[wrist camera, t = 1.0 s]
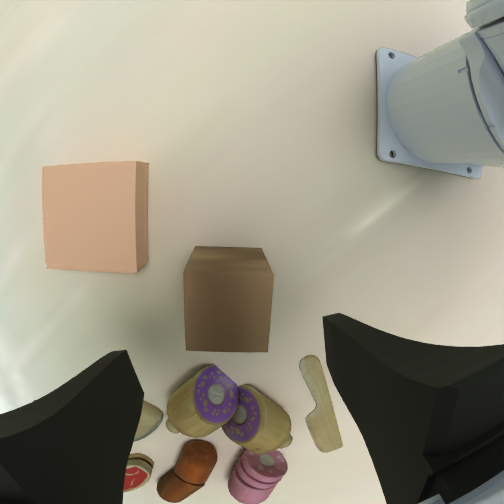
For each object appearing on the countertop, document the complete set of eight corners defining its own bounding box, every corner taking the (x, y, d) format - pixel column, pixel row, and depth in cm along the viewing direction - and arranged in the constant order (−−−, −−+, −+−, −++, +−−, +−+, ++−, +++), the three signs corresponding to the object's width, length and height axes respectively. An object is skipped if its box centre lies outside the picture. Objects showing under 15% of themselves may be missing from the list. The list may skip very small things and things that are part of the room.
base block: (149, 163, 18) (136, 161, 15) (149, 259, 20) (137, 273, 17) (65, 167, 18) (42, 166, 15) (68, 256, 19) (47, 268, 16)
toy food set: (308, 322, 22) (323, 352, 18) (345, 455, 26) (357, 484, 22) (31, 395, 22) (12, 421, 18) (120, 498, 26) (113, 523, 22)
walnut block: (261, 248, 20) (273, 274, 14) (258, 308, 21) (267, 352, 15) (195, 246, 19) (183, 272, 14) (195, 307, 20) (185, 350, 15)
